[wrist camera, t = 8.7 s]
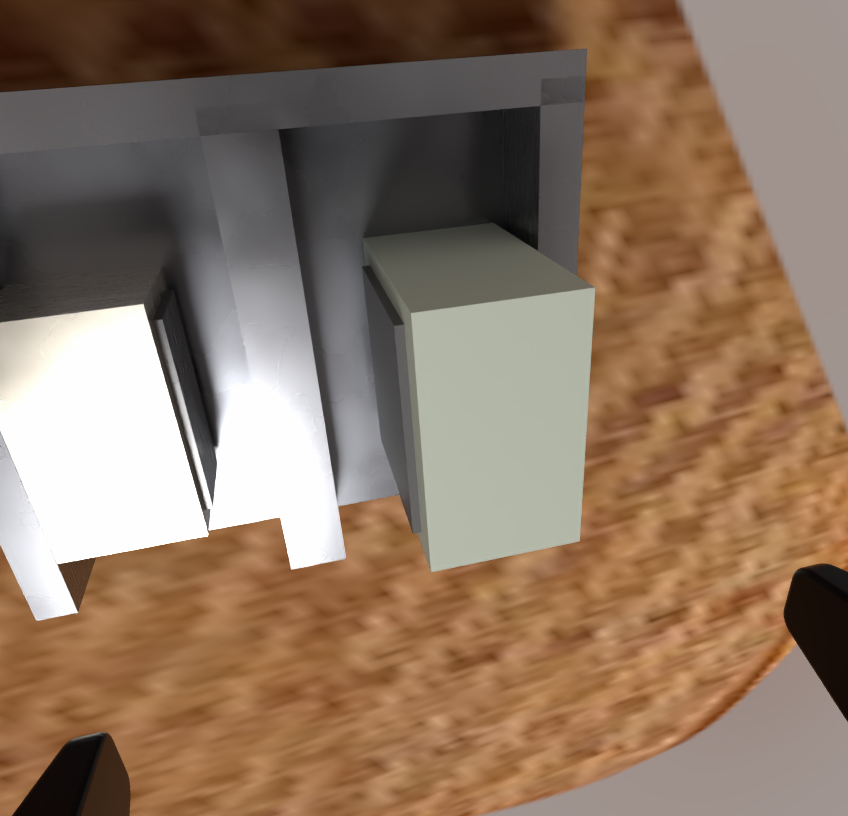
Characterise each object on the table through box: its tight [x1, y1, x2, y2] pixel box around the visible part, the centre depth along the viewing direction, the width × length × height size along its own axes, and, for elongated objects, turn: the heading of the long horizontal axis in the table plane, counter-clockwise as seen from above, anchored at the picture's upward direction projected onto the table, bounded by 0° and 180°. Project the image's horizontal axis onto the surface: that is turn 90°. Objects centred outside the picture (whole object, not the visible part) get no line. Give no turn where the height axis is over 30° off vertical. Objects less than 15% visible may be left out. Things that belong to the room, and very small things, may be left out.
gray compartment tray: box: [0, 49, 587, 621], centre depth 16 cm, size 12×14×4 cm
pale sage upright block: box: [362, 223, 595, 572], centre depth 16 cm, size 6×4×6 cm, turn 4°
